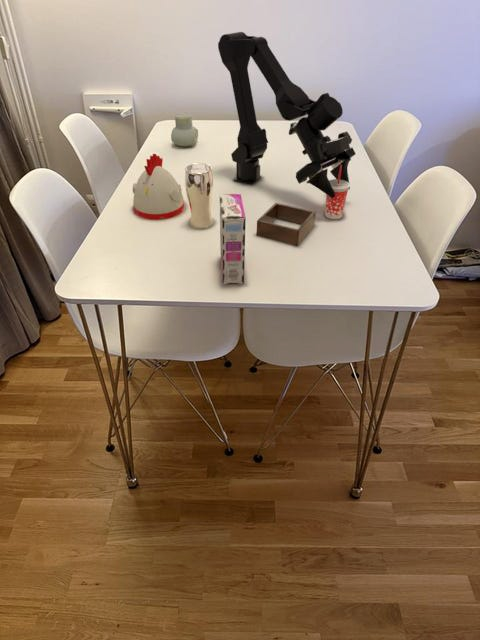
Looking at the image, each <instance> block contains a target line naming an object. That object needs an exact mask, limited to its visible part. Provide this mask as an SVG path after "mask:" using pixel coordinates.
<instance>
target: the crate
mask: <svg viewBox="0 0 480 640" xmlns="http://www.w3.org/2000/svg"><path fill="white" fill-rule="evenodd" d="M316 215H317V211H315V210H310V209H306V208H301V207H297V206H292V205H289V204H284V203H279V202H274V204H272V205H271V207H269V208H268V209H267V210H266V211H265V212H264V213H263V214H262V215H261V216H260V217H259V218H258V219H257V220H256V236H257V237H262V238H264V239H269V240H273V241H276V242H280V243H284V244H288V245H292V246H296V247H299V246H300V245H301V243H302V242H303V240H305V238H306V237H307V236H308V235H309V234H310V232H311V231H312V230H313V228H314V227H315V224H316V223H315V222H316ZM276 219H278V220H282V221H286V222H290V223H293V224H298V225H300V226H299V227H298V228H294V227H290V226H286V225H282V224H278V223H273V222H274V221H275V220H276Z"/></svg>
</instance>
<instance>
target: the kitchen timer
mask: <svg viewBox="0 0 480 640" xmlns="http://www.w3.org/2000/svg"><path fill="white" fill-rule="evenodd" d="M163 161H164V159H163V157H161V156H160V155H158V154H157V153H152V155H150V156H149V158H146V165H144V170H143V171H142V172H141V174H140V175H139V177H138V178H137V181H136V182H133V184H132V193H133V199H132V201H133V202H132V203H133V210H134V213H135V215H137V216H138V217H140V218H143V219H145V220H150V221H151V220H152V221H160V220H167V219H171V218H174V217H176V216H179V215H180V214H182V213H183V211H184V210H185V199H184V195H183V192H182V185H181V184H180V183H178V181H177V180H176V178H175V177H174V175H172V173H171V172H169V171H168V169H166V168H165V167H163V163H164V162H163Z"/></svg>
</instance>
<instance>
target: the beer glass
mask: <svg viewBox="0 0 480 640" xmlns="http://www.w3.org/2000/svg"><path fill="white" fill-rule="evenodd" d="M213 177H214V176H213V168H212V166H211V165H210V164H208V163H204V162H197V163H190V164H188V165H186V166H185V168H184V183H185V185H184V186H185V192H186V197H187V201H188V204H189V208H190V209H189V210H190V220H189V224H190V226H191V227H192V228H194V229H201V230H202V229H207V228H209V227H211V226H213V223H214V220H213V216H212V202H213V195H214V178H213Z"/></svg>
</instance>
